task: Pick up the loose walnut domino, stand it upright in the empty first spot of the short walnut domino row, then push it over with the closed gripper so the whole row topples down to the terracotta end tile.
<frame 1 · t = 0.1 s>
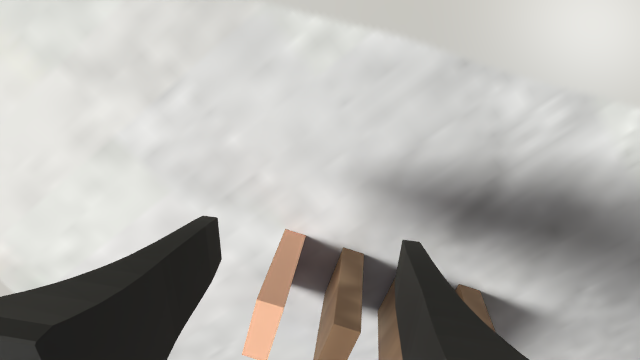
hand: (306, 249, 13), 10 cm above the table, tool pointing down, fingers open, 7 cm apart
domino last: (287, 257, 26), on the table
domino 3: (398, 292, 26), on the table
domino 4: (343, 275, 26), on the table
domino 2: (454, 310, 26), on the table
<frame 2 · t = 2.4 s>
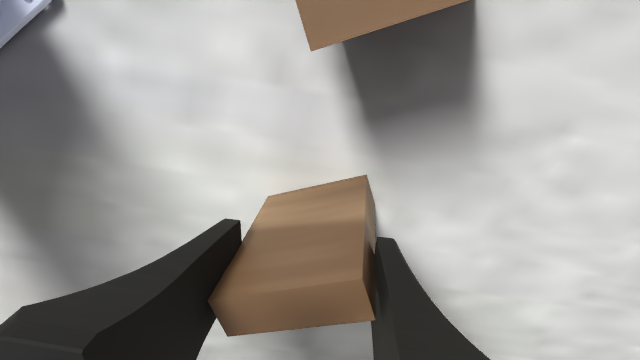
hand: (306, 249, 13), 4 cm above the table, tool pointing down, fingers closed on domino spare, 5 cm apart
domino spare: (320, 200, 17), on the table, touching gripper
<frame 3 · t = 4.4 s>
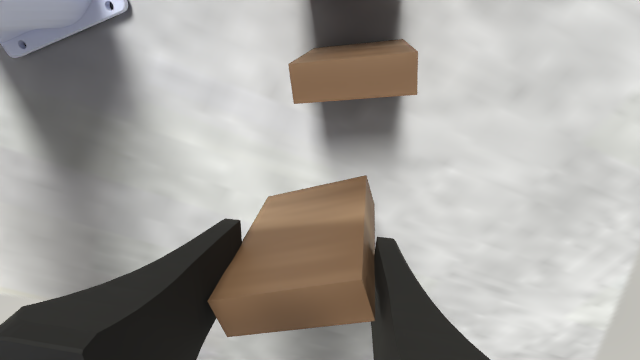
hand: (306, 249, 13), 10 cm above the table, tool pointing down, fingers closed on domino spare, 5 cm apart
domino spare: (320, 200, 17), point 6 cm above the table, touching gripper
domino 2: (358, 58, 20), on the table
when the fingers open (5 cm above the table, at t = 6.5 s): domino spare drops 1 cm, on the table.
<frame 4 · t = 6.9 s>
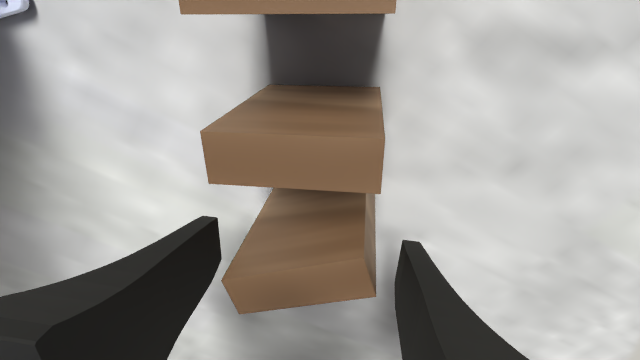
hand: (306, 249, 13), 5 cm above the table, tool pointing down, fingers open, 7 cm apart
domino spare: (323, 191, 18), on the table
domino 2: (323, 103, 16), on the table
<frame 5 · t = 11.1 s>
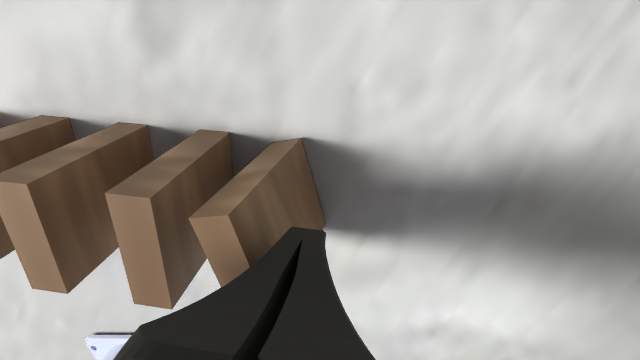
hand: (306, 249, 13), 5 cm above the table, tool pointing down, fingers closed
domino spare: (300, 184, 18), on the table, tilted 9°
domino 3: (141, 166, 19), on the table
domino 4: (68, 159, 20), on the table
domino 2: (218, 174, 19), on the table
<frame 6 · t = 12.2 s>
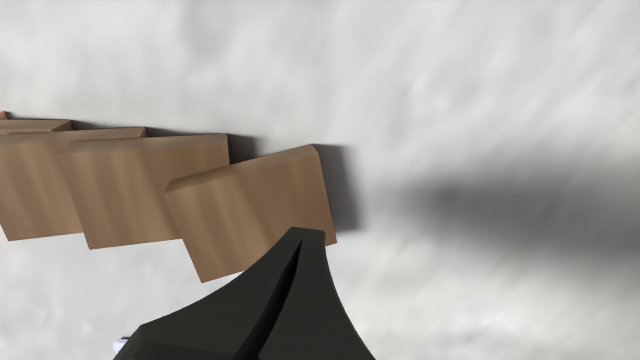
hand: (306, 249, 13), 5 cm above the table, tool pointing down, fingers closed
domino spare: (324, 194, 17), point 1 cm above the table, tilted 69°, touching domino 2
domino 3: (152, 176, 18), point 1 cm above the table, tilted 67°, touching domino 2
domino 4: (76, 168, 19), point 1 cm above the table, tilted 80°
domino 2: (231, 183, 18), point 1 cm above the table, tilted 68°, touching domino 3, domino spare
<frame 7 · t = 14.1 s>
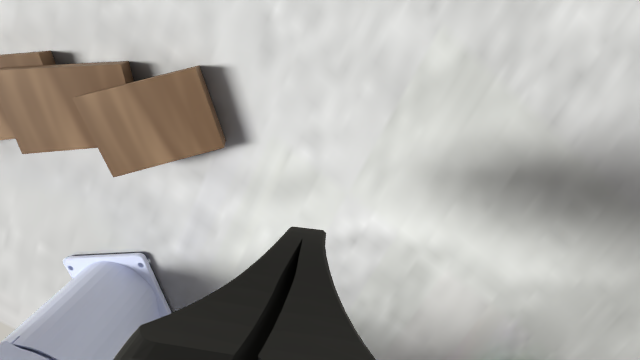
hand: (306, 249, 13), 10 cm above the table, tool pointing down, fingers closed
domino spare: (211, 107, 21), point 1 cm above the table, tilted 72°, touching domino 2
domino 3: (60, 92, 22), point 1 cm above the table, tilted 70°, touching domino 2, domino 4
domino 2: (135, 103, 22), point 1 cm above the table, tilted 71°, touching domino 3, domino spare
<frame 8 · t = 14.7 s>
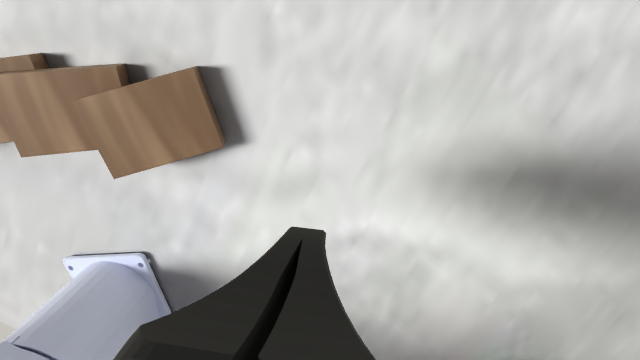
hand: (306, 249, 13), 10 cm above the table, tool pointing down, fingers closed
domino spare: (210, 107, 21), point 1 cm above the table, tilted 72°
domino 3: (53, 93, 23), point 1 cm above the table, tilted 70°, touching domino 2, domino 4
domino 2: (131, 105, 22), point 1 cm above the table, tilted 72°, touching domino 3
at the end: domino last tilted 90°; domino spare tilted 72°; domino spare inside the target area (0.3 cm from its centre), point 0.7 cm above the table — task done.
